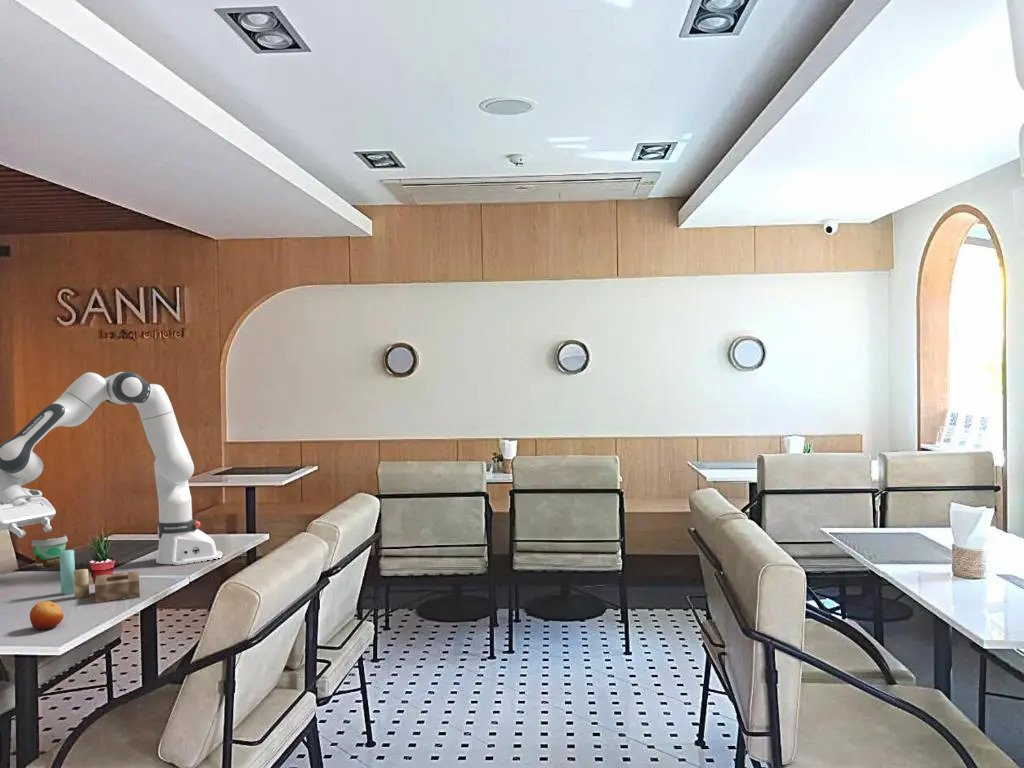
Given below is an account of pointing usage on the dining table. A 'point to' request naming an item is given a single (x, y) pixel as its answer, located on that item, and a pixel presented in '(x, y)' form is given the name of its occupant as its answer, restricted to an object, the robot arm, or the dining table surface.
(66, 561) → the long pin
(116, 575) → the hole block
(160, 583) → the dining table surface
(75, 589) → the short pin
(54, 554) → the food container
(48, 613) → the fruit
